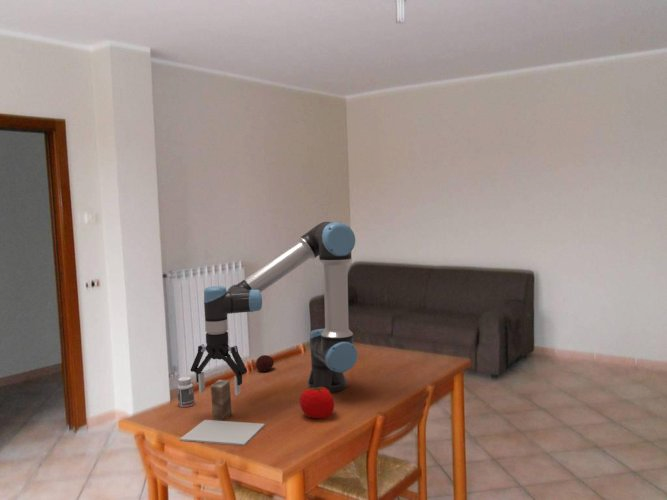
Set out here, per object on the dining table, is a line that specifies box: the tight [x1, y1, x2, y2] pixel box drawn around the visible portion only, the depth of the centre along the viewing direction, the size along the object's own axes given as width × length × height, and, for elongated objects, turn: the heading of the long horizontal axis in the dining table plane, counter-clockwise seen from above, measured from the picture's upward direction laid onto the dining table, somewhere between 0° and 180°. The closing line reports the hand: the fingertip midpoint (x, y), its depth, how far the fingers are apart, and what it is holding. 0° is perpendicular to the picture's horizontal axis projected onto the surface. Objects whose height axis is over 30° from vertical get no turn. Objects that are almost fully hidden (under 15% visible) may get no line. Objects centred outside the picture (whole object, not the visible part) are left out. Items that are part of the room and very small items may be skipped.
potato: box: [255, 354, 275, 373], centre depth 256 cm, size 7×8×7 cm
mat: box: [179, 419, 266, 447], centre depth 188 cm, size 22×16×1 cm
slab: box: [210, 379, 233, 421], centre depth 202 cm, size 4×6×12 cm, turn 164°
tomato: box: [299, 387, 335, 419], centre depth 199 cm, size 11×13×10 cm
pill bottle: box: [176, 376, 195, 408], centre depth 216 cm, size 6×6×10 cm
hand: (219, 392), depth 202 cm, fingers open, 13 cm apart
